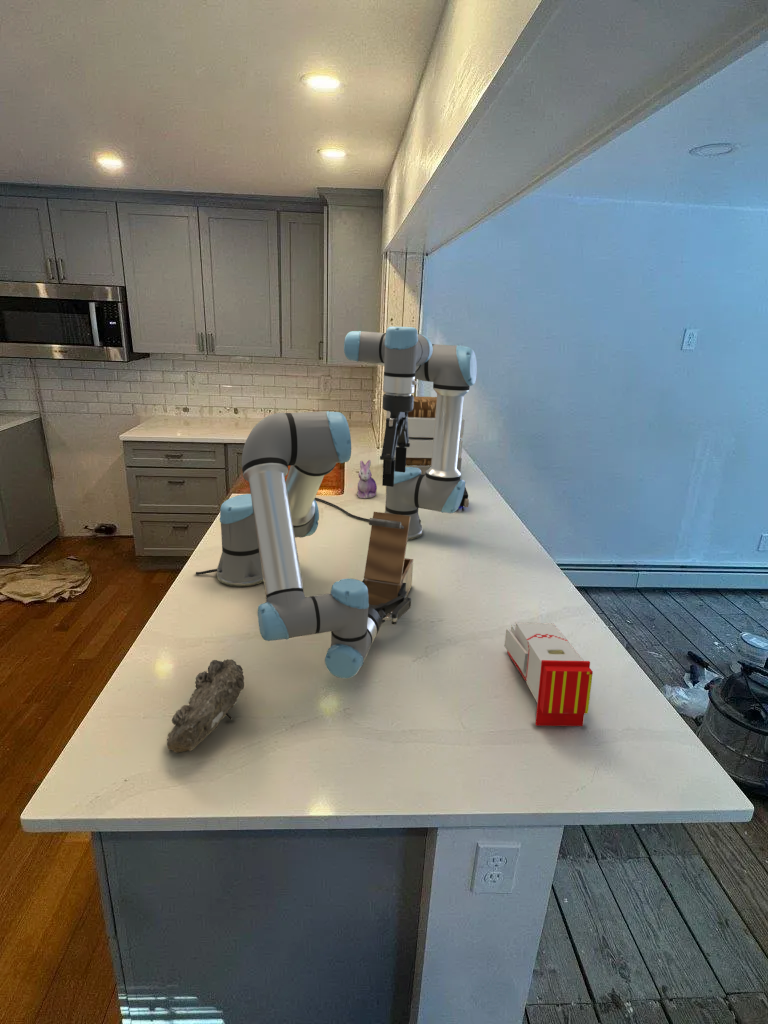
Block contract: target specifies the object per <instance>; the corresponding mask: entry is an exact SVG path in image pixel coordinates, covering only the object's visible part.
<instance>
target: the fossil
mask: <svg viewBox="0 0 768 1024" xmlns="http://www.w3.org/2000/svg"><path fill="white" fill-rule="evenodd" d="M243 670H244V669H243V667H242V665H240V664H237V662H236V661H235V660H234V659H232V658H231V659H227V658H226V659H224V660H223V661H222V660H217V659H212V660H211V661H210V663H209V665H208V666H207V671H201V672H199V673H198V674H197V675H196V676H195V680H194V684H195V685H194V687H195V689H194V690H193V693H192V694H191V697H190V698H189V700H188V704H184V705H182V706H181V707H180V709H177V710H176V711H175V713H174V715H173V716H172V718H171V723H172V724H173V727H172V730H171V731H170V732H168V734H167V738H166V741H167V742H166V745H167V749H168V750H169V751H173V752H174V753H176V754H178V753H182V752H188V751H189V752H192V751H193V750H195V748H196V747H197V746H199V744H200V743H201V742H203V741H204V740H205V739H206V738H207V737H208V736H209V735H210V734H211V733H212V732H214V730H215V729H217V727H218V726H219V724H220V722H221V721H222V720H223V719H224V718H225V716H226V717H227V719H229V720H233V717H232V715H230V714H229V710H230V709H231V708H234V706H235V704H236V703H237V702H238V699H239V697H240V695H241V693H242V691H243V690H245V689H244V688H245V675H244V671H243Z"/></svg>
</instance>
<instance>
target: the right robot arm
mask: <svg viewBox="0 0 768 1024" xmlns="http://www.w3.org/2000/svg"><path fill="white" fill-rule="evenodd" d="M418 332H419V331H418V329H417V328H416V327H414V326H413V327H412V326H388V327H387V328H386V331H385V332H378V331H377V332H376V331H362V330H352V331H351V330H350V331H348V333H346V335H345V337H344V342H343V352H344V355H345V358H346V359H347V360H349V361H353V362H357V363H359V362H360V363H363V362H364V363H368V364H374V365H378V366H381V367H383V383H382V391H383V395H382V409H383V410H384V411H386V412H387V411H390V413H391V414H390V418H386V417H385V429H384V435H383V441H382V442H383V443H382V449H381V455H379V460H380V461H382V482H381V483H382V484H381V486H383V487H385V504H384V505H385V507H384V508H385V509H384V513H389V514H397V515H405V516H410V517H411V518H410V525H409V532H408V539H407V541H410V540H415V539H418V538H420V537H421V536H422V535H423V525H422V524H421V522H422V521H421V518H420V515H419V509H422V510H429V511H433V512H439V513H440V512H441V513H442V514H443V513H447V514H453V513H456V512H457V511H458V509H459V508H458V507H459V505H460V503H461V500H462V497H463V494H464V490H465V487H466V481H465V480H464V479H461V478H462V477H461V476H462V473H460V472H459V471H458V469H457V461H458V451H459V441H460V439H461V438H460V430H461V420H462V419H463V410H464V409H463V408H464V399H465V395H467V394H468V393H469V392H470V388H471V387H472V386H474V385H475V384H476V381H477V375H478V363H477V357H476V353H475V351H474V349H473V348H472V347H470V346H464V345H459V344H458V345H455V344H454V345H453V344H438V343H437V344H436V343H435V344H434V343H432V341H431V339H430V338H429V337H427V336H426V335H424V334H422V333H418ZM418 381H422V382H430V383H432V390H434V391H435V393H436V397H437V401H436V413H435V425H434V437H433V449H432V461H431V465H430V466H429V468H427V469H426V470H425V474H424V473H422V469H421V468H419V467H417V466H407V465H406V451H407V448H405V447H410V443H408V442H409V437H408V412H410V411H412V410H413V405H414V397H413V396H414V395H413V394H414V393H415V386H417V385H418ZM396 446H399V447H396ZM395 451H396V457H395V460H394V456H395ZM387 454H390V455H387ZM315 500H316V501H318V502H322V503H324V504H327V505H329V506H332V507H334V508H336V509H338V510H339V511H341V512H343V513H345V514H346V515H348V516H349V517H352V518H354V519H358V520H361V521H365V522H369V519H370V518H366V517H361V516H358V515H355V514H353V513H350V512H348V510H345V509H344V508H342V507H340V506H338V505H336V504H334V503H332V502H330V501H327V500H325V499H322V498H319V497H315ZM456 510H457V511H456Z"/></svg>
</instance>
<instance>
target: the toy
mask: <svg viewBox="0 0 768 1024" xmlns="http://www.w3.org/2000/svg"><path fill="white" fill-rule="evenodd" d="M503 645H504V647H505V649H506V650H507V655H508V656H509V658H510V659H511V662H513V664H514V666H515V667H516V669H517V670H518V672H519V673H520V675H521V676H522V679H523V680H524V681H525V683H526V686H527V687H528V689H529V690H530V693H531V694H532V696H533V698H534V700H535V701H536V703H537V704H536V714H535V722H534V723H535V726H537V727H541V726H542V727H583V726H584V719H585V715H586V714H587V715H588V714H589V706H590V705H589V704H590V699H591V691H592V683H593V682H592V681H593V674H594V673H593V672H594V671H593V670H592V669H591V668H590V667H591V661H590V660H584V659H583V658H582V657H581V655H580V654H579V653H578V651H577V650H576V649H575V648H574V647H573V645H572V644H571V643H570V642H569V640H568V639H567V638H566V636H564V633H562V632H561V630H560V629H559V628H558V627H557V625H556V624H555V623H553V622H515V624H511V625H510V628H506V630H505V638H504V644H503Z"/></svg>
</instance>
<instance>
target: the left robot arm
mask: <svg viewBox="0 0 768 1024" xmlns="http://www.w3.org/2000/svg"><path fill="white" fill-rule="evenodd" d="M351 456H352V437H351V430H350V426H349V422H348V420H347V417H346V416H345V415H344V413H342V412H340V411H329V410H326V411H307V412H306V411H305V412H304V411H303V412H275V413H272V414H269V415H267V416H265V417H264V418H262V419H260V420H259V421H258V422H257V423H256V424H255V426H254V427H253V428H252V430H251V431H250V433H249V434H248V435H247V438H246V440H245V442H244V446H243V449H242V453H241V469H242V470H241V471H242V477H243V479H244V480H245V481H247V482H248V484H249V492H250V493H245V494H237V495H235V496H233V497H232V496H231V497H230V498H228V499H226V500H224V502H222V504H221V505H220V508H219V522H220V535H221V554H220V559H219V562H218V565H217V567H216V568H213V569H207V570H202V571H196V572H195V575H196V576H199V575H201V576H202V575H205V574H206V575H207V574H210V573H216V578H217V580H218V581H219V582H220V583H221V584H223V585H225V586H230V587H236V588H237V587H239V588H241V587H242V588H243V587H253V586H256V585H259V584H262V583H263V585H264V591H265V592H264V593H265V599H266V601H265V602H262V603H260V604H259V605H257V624H258V628H259V629H258V630H259V633H260V636H261V638H262V639H263V640H264V641H265V642H266V641H267V642H272V641H281V640H286V641H288V640H289V639H293V638H299V637H305V636H310V635H316V634H324V633H329V632H330V647H328V648H327V651H326V654H325V657H324V665H325V667H326V669H327V671H328V672H329V673H330V674H331V675H333V676H334V677H336V678H340V679H350V678H353V677H355V676H356V675H357V674H358V672H359V670H360V669H361V668H362V667H363V665H364V663H365V660H366V658H367V655H368V653H369V651H370V649H371V647H372V645H373V644H374V643H373V642H374V640H375V638H376V637H377V635H378V633H379V631H380V629H381V628H382V624H384V623H385V622H386V621H387V622H391V625H394V626H395V625H397V623H398V620H399V619H400V618H402V617H403V616H404V615H405V614H406V613H407V612H408V611H409V610H410V609H411V608H412V598H411V597H408V595H407V592H406V583H403V584H402V586H401V589H400V590H399V592H398V597H397V598H395V599H393V600H391V601H388V602H386V603H381V604H379V605H371V604H369V603H368V588H367V586H366V585H365V584H364V580H365V578H364V577H363V580H359V579H355V578H341V579H339V580H337V581H335V582H333V584H332V586H331V589H330V593H323V594H317V595H310V596H305V595H306V594H305V590H304V583H303V577H302V573H301V571H302V570H301V565H300V560H299V559H300V558H299V554H298V548H297V541H296V538H299V539H300V538H305V537H308V536H309V537H310V536H312V535H314V534H315V533H316V531H317V530H318V527H319V520H320V511H319V506H318V502H317V500H315V498H317V497H316V496H317V494H318V492H319V489H320V487H321V484H322V482H323V480H324V478H325V476H327V475H329V474H330V473H331V472H332V471H334V469H335V467H336V465H337V464H338V463H339V464H344V463H347V462H349V461H350V459H351ZM389 613H390V614H389Z"/></svg>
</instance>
